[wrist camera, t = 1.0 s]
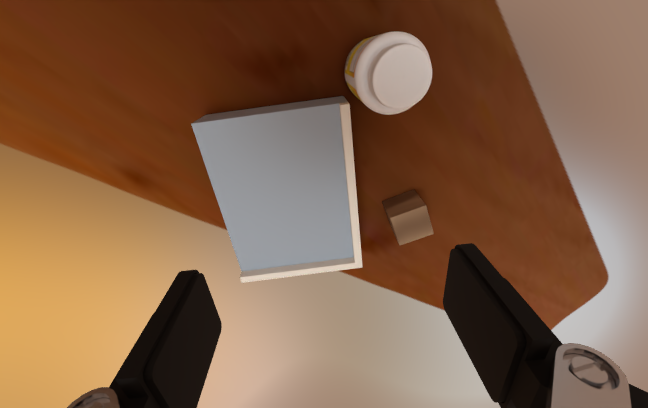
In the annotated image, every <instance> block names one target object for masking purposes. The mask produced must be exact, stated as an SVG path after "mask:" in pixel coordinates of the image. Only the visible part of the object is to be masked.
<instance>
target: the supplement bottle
mask: <svg viewBox="0 0 648 408" xmlns="http://www.w3.org/2000/svg"><path fill="white" fill-rule="evenodd" d="M345 80H346V83H347V85H348V87H349V89H350V90H351V92H352V93H353V94H354V95H355V96H356V97H357V98H358V99H359V100H360V101H362V102H363V103H364V104H365V105H366V106H367V107H368V108H370V109H371V110H373V111H375V112H377V113H380V114H386V115H392V114H398V113H401V112H403V111H406V110H407V109H409V108H411V107H412V106H413V105H414V104H416V103H417V102H419V101H420V100H421V99H422V98H423V97H424V95H425V94H426V92H427V91H428V89H429V86H430V84H431V80H432V65H431V62H430V57H429V54H428V52H427V50H426V48H425V46H424V45H423V44H422V42H421V41H420V40H419V39H417V38H416V37H415V36H413V35H411V34H408V33H405V32H398V31H395V32H388V33H384V34H380V35H376V36H373V37H369V38H366V39H364V40H362V41H360V42H359V43H358V44H357V45H356V46H355V47H354V48H353V49H352V50H351V52H350V53H349V55H348V57H347V60H346V63H345Z"/></svg>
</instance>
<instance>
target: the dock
mask: <svg viewBox="0 0 648 408" xmlns="http://www.w3.org/2000/svg"><path fill="white" fill-rule="evenodd" d="M191 125H192V128H193V131H194V134H195V136H196V139H197V142H198V145H199V148H200V151H201V154H202V157H203V160H204V163H205V166H206V169H207V172H208V175H209V177H210V180H211V183H212V186H213V189H214V192H215V195H216V198H217V201H218V204H219V207H220V210H221V213H222V216H223V218H224V221H225V224H226V227H227V230H228V233H229V236H230V239H231V242H232V245H233V248H234V251H235V253H236V257H237V259H238V262H239V265H240V268H241V271H242V272H241V276H240V279H241V282H242V283H243V282H251V281H259V280H267V279H275V278H283V277H290V276H298V275H306V274H314V273H322V272H330V271H338V270H346V269H354V268H361V267H362V256H361V243H360V231H359V218H358V205H357V193H356V180H355V167H354V154H353V142H352V129H351V116H350V104H349V103H348V101H347V100H346V99H345V97H344V96H338V97H331V98H324V99H317V100H309V101H302V102H295V103H288V104H281V105H273V106H266V107H259V108H252V109H244V110H237V111H230V112H223V113H216V114H208V115H205V116H203V117H201V118H200V119H198V120H196V121H195V122H193V123H192V124H191Z"/></svg>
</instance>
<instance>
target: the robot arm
mask: <svg viewBox="0 0 648 408" xmlns="http://www.w3.org/2000/svg"><path fill="white" fill-rule="evenodd" d="M443 305H444V309H445V311H446V313H447V315H448V317H449V319H450V321H451V323H452V324H453V326H454V328H455V330H456V332H457V334H458V336H459V338H460V340H461V342H462V344H463V346H464V347H465V349H466V351H467V353H468V355H469V357H470V359H471V361H472V363H473V365H474V367H475V368H476V370H477V372H478V374H479V376H480V378H481V380H482V382H483V384H484V386H485V388H486V390H487V392H488V393H489V395H490V397H491V399H492V400H493V401H494V402H498V403H499V405H500V407H501V408H648V392H645V391H643V390H641V389H639V388H637V387H635V386H633V385H630V384H628V381H627V378H626V376H625V374H624V373H623V372H622V370H621V369H620V367H619V366H618V365H616V364H615V363H614V362H613V361H612V360H611V359H610V358H608V357H607V356H605V355H604V354H602V353H601V352H599V351H597V350H595V349H592V348H590V347H588V346H584V345H581V344H574V343H568V344H562V343H561V342H560V341H559V340H558V338H557V337H556V336H555V335H554V334H553V332H552V331H551V330H550V329H549V328H548V327H547V326H546V324H545V323H544V322H543V321H542V320H541V319H540V317H539V316H538V315H537V314H536V313H535V312H534V311H533V309H532V308H531V307H530V306H529V305H528V304H527V302H526V301H525V300H524V299H523V298H522V297H521V296H520V294H519V293H518V292H517V291H516V290H515V289H514V287H513V286H512V285H511V284H510V283H509V282H508V281H507V280H506V279H505V278H503V277H502V276H501V275H500V274H499V272H498V271H497V270H496V269H495V268H494V267H493V265H492V264H491V263H490V262H489V261H488V260H487V258H486V257H485V256H484V255H483V254H482V253H481V251H480V250H479V249H478V248H477V247H476V246H475V245H474V244H472V243H471V244H461V245H456V246H455V249H452V250H451V252H450V258H449V264H448V271H447V278H446V284H445V291H444V298H443ZM220 333H221V321H220V318H219V315H218V312H217V310H216V307H215V304H214V301H213V299H212V296H211V293H210V291H209V288H208V285H207V283H206V280H205V277H204V275H203V274H202V273H199V272H198V271H197V270H189V271H181V272H179V273H178V275H177V276H176V278H175V280H174V281H173V283H172V285H171V286H170V288H169V290H168V291H167V293H166V295H165V296H164V298H163V300H162V301H161V303H160V305H159V306H158V308H157V310H156V312H155V313H154V314H153V315H152V317H151V318H150V320H149V322H148V323H147V325H146V327H145V328H144V330H143V332H142V333H141V335H140V337H139V338H138V340H137V342H136V343H135V345H134V347H133V348H132V350H131V352H130V353H129V355H128V356H127V358H126V360H125V361H124V363H123V365H122V366H121V368H120V370H119V371H118V373H117V375H116V377H115V378H114V380H113V382H112V383H111V385H110V387H109V388H108V387H104V388H103V387H102V388H97V389H94V390H91V391H89V392H87V393H85V394H83V395H82V396H80V397H79V398H78V399H76V400H75V401H74V402H72V403H71V404H70V405H69V406H68V407H67V408H196V407H197V404H198V401H199V398H200V395H201V392H202V389H203V386H204V383H205V379H206V376H207V373H208V370H209V367H210V364H211V361H212V358H213V355H214V351H215V348H216V345H217V342H218V339H219V336H220Z"/></svg>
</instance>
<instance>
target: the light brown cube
mask: <svg viewBox="0 0 648 408" xmlns="http://www.w3.org/2000/svg"><path fill="white" fill-rule="evenodd" d="M382 203H383V205H384V208H385V211H386V214H387V217H388V220H389V222H390V225H391V228H392V230H393V232H394V234H395V237H396V239H397V241H398V243H399V245H402V244H405V243H408V242H411V241H414V240H417V239H420V238H423V237H426V236H429V235H432V234H434V233H433V229H432V225H431V222H430V218H429V214H428V211H427V207H426V204H425V203H424V202H423V200H422V199H421V198H420V196H419V195H418V194H417V192H416V191H415V190H411V191H409V192H406V193H403V194H401V195H398V196H395V197H392V198H390V199H387V200H384V201H382Z"/></svg>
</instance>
